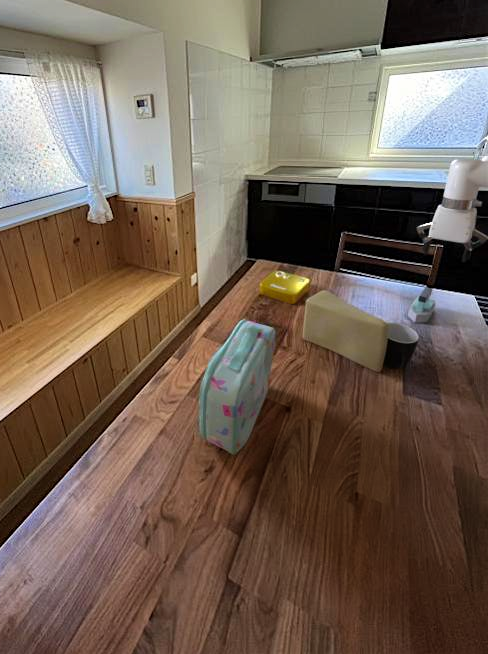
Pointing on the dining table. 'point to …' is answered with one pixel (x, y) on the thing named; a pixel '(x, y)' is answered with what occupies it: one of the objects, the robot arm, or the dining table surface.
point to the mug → (400, 346)
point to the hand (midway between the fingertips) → (444, 256)
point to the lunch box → (236, 386)
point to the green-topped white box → (422, 307)
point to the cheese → (345, 330)
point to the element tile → (284, 287)
